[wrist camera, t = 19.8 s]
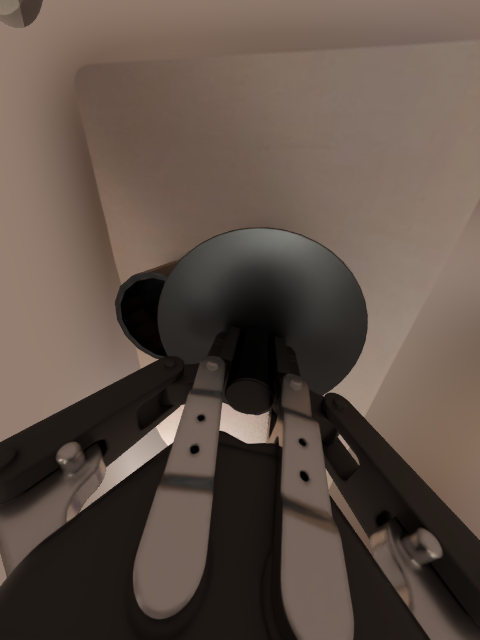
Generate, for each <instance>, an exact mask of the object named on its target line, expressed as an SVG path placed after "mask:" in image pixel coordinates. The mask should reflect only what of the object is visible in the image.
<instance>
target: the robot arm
mask: <svg viewBox="0 0 480 640" xmlns="http://www.w3.org/2000/svg"><path fill="white" fill-rule="evenodd" d="M240 329H241V328H237V327H232V326H230V329H229V332H228V333H227V332H222V331H221V332H220V333H219V334H217V336H216V338H215V340H214V342H213V344H212V346H211V349H210V351H209V353H208V355H207V357H205V358H203V359H202V360H201V361H200V363H197V364H184V361H183V360H182V359H181V358H179V357H177V356H166V357H163V358H161V359H159V360H157V361H155V362H153V363H151V364H149V365H147V366H146V367H144V368H142V369H140V370H138V371H136V372H134V373H132V374H130V375H128V376H126V377H125V378H123V379H121V380H119V381H117V382H115V383H113V384H111V385H109V386H107V387H105V388H103V389H102V390H100V391H98V392H96V393H94V394H92V395H90V396H88V397H86V398H84V399H82V400H80V401H78V402H77V403H75V404H73V405H71V406H69V407H67V408H65V409H63V410H61V411H59V412H57V413H56V414H53V415H52V416H50V417H48V418H46V419H44V420H42V421H40V422H38V423H36V424H34V425H32V426H30V427H28V428H27V429H25V430H23V431H21V432H19V433H17V434H15V435H13V436H11V437H9V438H7V439H5V440H4V441H2V442H0V554H1V557H2V561H3V565H4V568H5V572H6V576H7V578H6V580H5V581H4V582H3V584H2V585H1V586H0V640H480V540H479V539H478V538H477V537H476V536H475V535H474V534H473V533H472V532H471V531H470V530H469V529H468V527H467V526H466V525H465V524H464V523H463V522H462V521H461V520H460V519H459V518H458V517H457V516H456V515H455V514H454V513H453V512H452V511H451V509H450V508H449V507H448V506H447V505H446V504H445V503H444V502H443V501H442V500H441V499H440V498H439V497H438V496H437V495H436V493H435V492H433V490H432V489H431V488H430V487H429V486H428V485H427V484H426V483H425V482H424V481H423V480H422V479H421V478H420V477H419V476H418V475H417V473H416V472H415V471H414V470H413V469H412V468H411V467H410V466H409V465H408V464H407V463H406V462H405V461H404V460H403V459H402V457H401V456H400V455H399V454H398V453H397V452H396V451H395V450H394V449H393V448H392V447H391V446H390V445H389V444H388V443H387V442H386V441H385V439H384V438H383V437H382V436H381V435H380V434H379V433H378V432H377V431H376V430H375V429H374V428H373V427H372V426H371V425H370V424H369V423H368V422H367V420H366V419H365V418H364V417H363V416H362V415H361V414H360V413H359V412H358V411H357V410H356V409H355V408H354V407H353V406H352V404H351V403H350V402H349V401H348V400H346V399H345V398H344V397H342V396H341V395H339V394H336V393H327V394H326V395H325V397H323V396H321V395H319V394H317V393H315V392H313V391H311V390H310V389H309V387H308V384H307V382H306V381H305V380H304V379H303V378H301V375H300V371H299V366H298V363H297V358H296V354H295V351H294V350H293V349H292V347H289V346H286V341H285V338H281V337H277V336H274V337H273V340H272V357H273V378H274V403H273V405H272V408H271V410H270V416H269V424H268V432H267V440H266V443H257V444H247V443H244V442H243V441H241V440H239V439H237V438H235V437H233V436H231V435H230V434H228V433H226V432H223V431H219V427H220V418H221V409H222V399H223V394H222V392H223V390H225V388H226V385H227V381H228V377H229V374H230V370H231V366H232V362H233V358H234V354H235V350H236V346H237V342H238V338H239V334H240ZM184 404H185V407H184V410H183V413H182V416H181V420H180V423H179V426H178V429H177V432H176V436H175V439H174V442H173V443H172V444H170V445H169V446H168V447H166V448H165V449H164V450H162V451H161V452H160V453H158V454H157V455H156V456H154V457H153V458H152V459H150V460H149V461H148V462H146V463H145V464H144V465H142V466H141V467H140V468H139V469H137V470H136V471H134V472H133V473H132V474H130V475H129V476H128V477H126V478H125V479H124V480H122V481H121V482H120V483H118V484H117V485H116V486H114V487H113V488H112V489H110V490H109V491H108V492H106V493H105V494H104V495H102V496H101V497H100V498H99V499H97V500H96V501H94V502H93V503H92V504H91V505H89V506H88V507H87V508H85V509H84V510H83V511H81V512H80V510H81V508H82V506H83V505H84V503H85V502H86V501H87V499H88V498H89V497H90V496H91V495H92V494H93V493H94V492H95V491H96V490H97V488H98V487H99V486H100V484H101V483H102V481H103V479H104V476H105V472H106V467H107V466H108V465H109V464H111V463H112V462H113V461H115V460H116V459H117V458H118V457H119V456H121V455H122V454H123V453H124V452H125V451H127V450H128V449H129V448H130V447H131V446H133V445H134V444H135V443H136V442H138V441H139V440H140V439H141V438H142V437H144V436H145V435H146V434H147V433H148V432H150V431H151V430H152V429H153V428H154V427H156V426H157V425H158V424H159V423H161V422H162V421H163V420H164V419H165V418H167V417H168V416H169V415H170V414H172V413H173V412H174V411H175V410H176V409H178V408H179V407H180V405H184ZM339 434H340V435H341V436H342V437H343V439H344V440H345V441H346V443H347V444H348V445H349V446H350V448H351V449H352V450H353V452H354V453H355V454H356V456H357V457H358V459H359V463H360V466H359V465H358V464H357V462H356V461H355V460H354V458H353V457H352V456H351V454H350V453H349V452H348V450H347V449H346V448H345V446H344V445H343V444H342V442H341V441H340V440H339V438H338V436H339ZM325 468H326V469H327V471H328V472H329V474H330V476H331V477H332V479H333V481H334V482H335V484H336V486H337V487H338V489H339V490H340V492H341V494H342V495H343V497H344V499H345V500H346V502H347V503H348V505H349V507H350V508H351V510H352V512H353V513H354V515H355V516H356V518H357V520H358V521H359V523H360V525H361V526H362V528H363V529H364V531H365V533H366V534H367V536H368V538H369V539H370V543H371V550H372V553H373V554H372V555H371V553H370V552H369V550H368V549H367V548H366V546H365V545H364V543H363V542H362V540H361V539H360V538H359V536H358V535H357V533H356V532H355V530H354V529H353V527H352V526H351V525H350V523H349V522H348V520H347V519H346V517H345V516H344V515H343V513H342V512H341V510H340V509H339V507H338V506H337V505H336V503H335V502H334V500H333V499H332V497H331V496H330V495H329V490H328V483H327V476H326V469H325ZM79 512H80V513H79Z"/></svg>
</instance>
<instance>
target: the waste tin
mask: <svg viewBox="0 0 480 640" xmlns="http://www.w3.org/2000/svg"><path fill="white" fill-rule="evenodd" d="M179 261H180V260H178V261H174V262H171V263H168V264H165V265H162V266H159V267H156V268H153V269H150V270H147V271H144V272H141V273H138V274H135V275H133V276H131V277H130V278H129V279H128V280H127V281H126V282H125V283H123V284H122V285H121V286H120V288H119V292H118V294H117V298H116V300H115V307H116V315H117V320H118V322H119V324H120V326H121V328H122V330H123V332H124V334H125V335H126V337H127V338H128V339H129V340H130V341H131V342H132V343H133V344H134V345H135V346H136V347H137V348H138V349H140V350H141V351H143V352H145V353H147V354H148V355H150V356H152V357H153V358H156V359H161V358H163V357H166V356H168V355H167V353H166V351H165V349H164V347H163V344H162V341H161V338H160V333H159V328H158V305H159V300H160V295H161V292H162V289H163V287H164V284H165V282H166V280H167V278H168V276H169V275H170V273H171V271H172V270H173V269H174V267H175V266H176V265H177V263H178V262H179Z"/></svg>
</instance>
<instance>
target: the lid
mask: <svg viewBox="0 0 480 640" xmlns="http://www.w3.org/2000/svg"><path fill="white" fill-rule="evenodd" d="M367 325H368V315H367V309H366V303H365V299H364V296H363V293H362V290H361V288H360V286H359V284H358V282H357V280H356V279H355V277H354V275H353V274H352V272H351V271H350V270H349V269H348V267H347V266H346V265H345V264H344V262H343V261H342V260H341V259H339V258H338V257H337V256H336V255H335V254H334V253H333V252H332V251H330V250H329V249H327V248H326V247H324V246H323V245H321V244H320V243H318V242H316V241H314V240H312V239H310V238H308V237H305V236H303V235H301V234H297V233H294V232H290V231H287V230H282V229H274V228H245V229H239V230H233V231H229V232H226V233H223V234H220V235H217V236H214V237H212V238H210V239H208V240H206V241H204V242H202V243H201V244H199V245H198V246H197V247H195V248H194V249H192V250H191V251H189V252H188V253H187V254H186V255H185V256H184V257H183V258H182V259H181V260H180V261H179V262H178V263H177V265H176V266H175V267H174V269H173V270H172V271H171V273H170V275H169V276H168V278H167V280H166V282H165V284H164V287H163V289H162V292H161V295H160V300H159V305H158V328H159V333H160V338H161V341H162V344H163V347H164V349H165V351H166V353H167V355H168V356H177V357H179V358H181V359H182V360H183V361H184V364H197V363H200V361H201V360H202V359H203V358H205V357H207V355H208V353H209V351H210V349H211V346H212V344H213V342H214V340H215V338H216V336H217V334H219V333H220V332H221V331H222V332H227V333H228V332H229V329H230V326H232V327H237V328H241V329H240V334H239V338H238V342H237V346H236V350H235V354H234V358H233V362H232V366H231V370H230V374H229V377H228V381H227V385H226V388H225V390H223V392H222V394H223V399H222V402H223V403H226V404H229V405H230V406H231V407H232V408H233V409H235V410H236V411H238V412H241V413H244V414H260V413H263V412H265V411H267V410H271V408H272V405H273V403H274V378H273V357H272V340H273V337H274V336H277V337H281V338H285V341H286V346H289V347H292V349H293V350H294V351H295V354H296V358H297V363H298V366H299V371H300V375H301V378H303V379H304V380H305V381H306V382H307V384H308V387H309V389H310V390H311V391H313V392H315V393H317V394H319V395H321V396H322V395H324V394H326V393H327V392H329V391H330V390H332V389H333V388H334V387H335V386H337V385H338V384H339V383H340V382H341V381H342V380H343V379H344V378H345V377H346V376H347V375H348V374H349V372H350V371H351V370H352V368H353V367H354V365H355V364H356V362H357V360H358V358H359V356H360V354H361V352H362V349H363V346H364V344H365V340H366V334H367Z"/></svg>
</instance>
